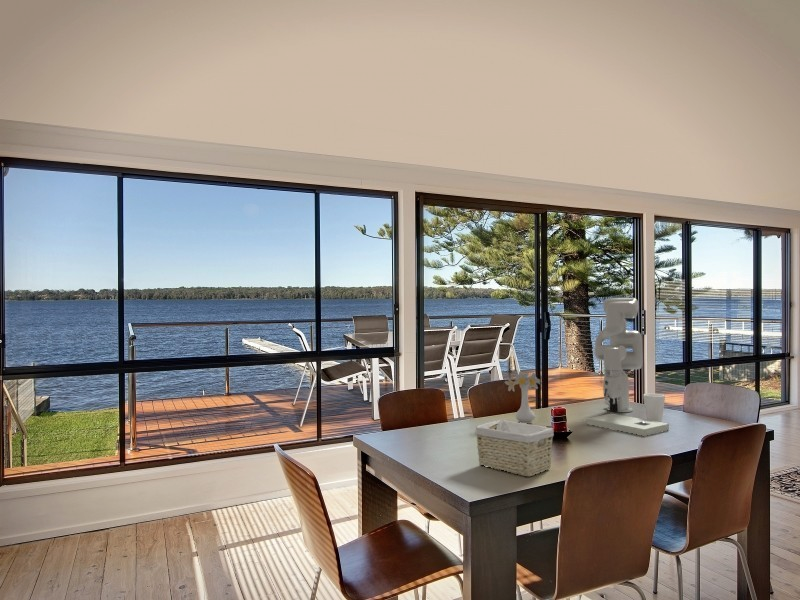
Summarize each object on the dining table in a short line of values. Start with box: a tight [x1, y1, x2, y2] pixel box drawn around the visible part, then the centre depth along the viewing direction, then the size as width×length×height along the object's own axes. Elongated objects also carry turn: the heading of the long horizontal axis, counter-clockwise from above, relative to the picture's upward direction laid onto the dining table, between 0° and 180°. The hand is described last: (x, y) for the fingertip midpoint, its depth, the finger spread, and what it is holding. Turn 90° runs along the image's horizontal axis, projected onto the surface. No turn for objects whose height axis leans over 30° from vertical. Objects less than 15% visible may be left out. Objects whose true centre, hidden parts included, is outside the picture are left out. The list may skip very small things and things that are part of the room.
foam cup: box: [643, 392, 666, 423], centre depth 268 cm, size 10×9×13 cm
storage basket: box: [474, 419, 555, 477], centre depth 200 cm, size 24×16×15 cm
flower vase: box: [504, 370, 541, 424], centre depth 272 cm, size 13×18×25 cm
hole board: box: [586, 413, 670, 437], centre depth 258 cm, size 30×18×3 cm, turn 33°
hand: (613, 411), depth 265 cm, fingers closed
